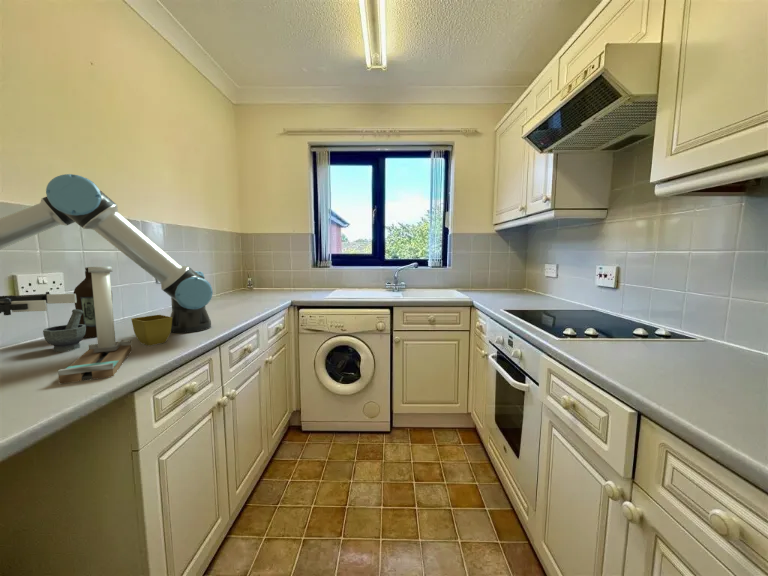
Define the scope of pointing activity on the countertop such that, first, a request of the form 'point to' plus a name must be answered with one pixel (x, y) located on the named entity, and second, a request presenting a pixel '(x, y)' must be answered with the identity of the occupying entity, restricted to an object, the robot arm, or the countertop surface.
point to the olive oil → (86, 304)
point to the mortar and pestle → (66, 333)
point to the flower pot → (152, 329)
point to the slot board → (95, 364)
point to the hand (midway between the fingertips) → (61, 301)
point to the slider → (103, 309)
